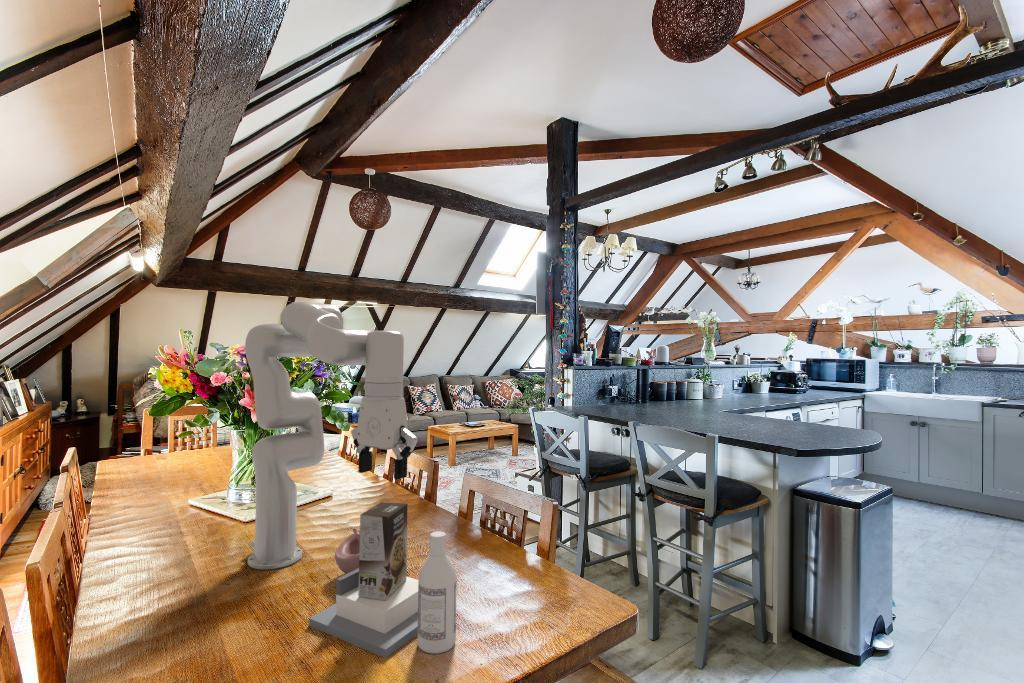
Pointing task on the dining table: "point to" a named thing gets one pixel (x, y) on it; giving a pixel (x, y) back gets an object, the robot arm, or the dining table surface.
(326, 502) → the dining table surface
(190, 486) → the dining table surface
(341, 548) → the mortar and pestle
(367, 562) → the coffee box
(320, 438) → the robot arm
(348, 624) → the display stand
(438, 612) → the bath foam
